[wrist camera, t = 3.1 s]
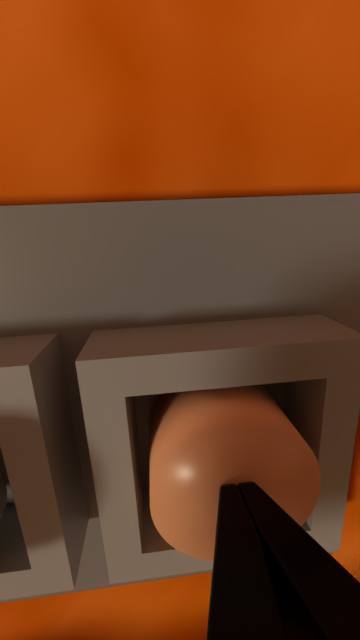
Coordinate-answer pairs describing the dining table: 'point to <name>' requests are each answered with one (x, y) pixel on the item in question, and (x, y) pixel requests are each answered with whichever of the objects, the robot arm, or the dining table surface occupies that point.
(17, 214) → the panel
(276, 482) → the button terracotta
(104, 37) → the dining table surface
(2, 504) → the button ivory
